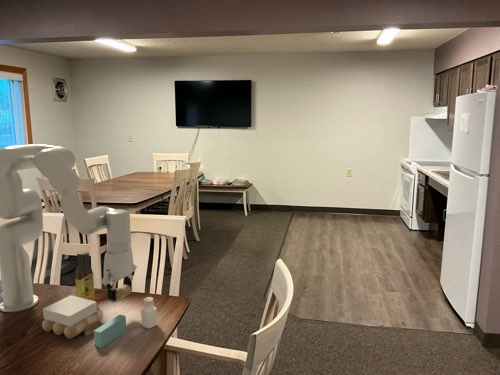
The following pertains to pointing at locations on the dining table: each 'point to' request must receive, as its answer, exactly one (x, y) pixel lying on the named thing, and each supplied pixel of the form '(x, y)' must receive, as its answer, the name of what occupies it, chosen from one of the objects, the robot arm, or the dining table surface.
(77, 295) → the sauce bottle
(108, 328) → the block
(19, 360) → the dining table surface
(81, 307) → the slab
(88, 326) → the roller track
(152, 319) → the pepper shaker
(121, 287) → the roller
